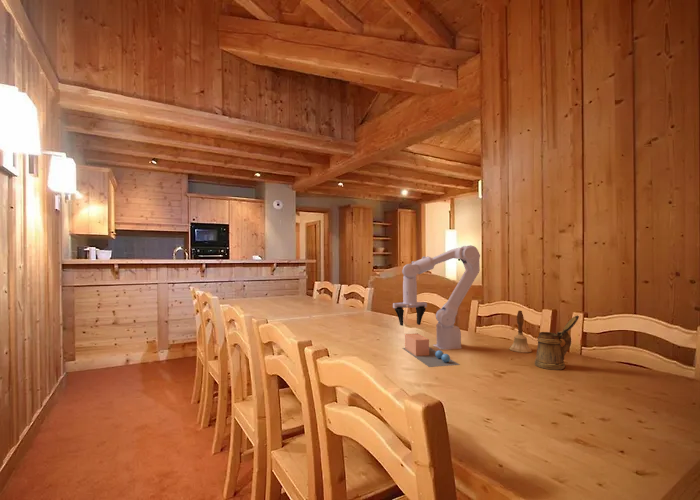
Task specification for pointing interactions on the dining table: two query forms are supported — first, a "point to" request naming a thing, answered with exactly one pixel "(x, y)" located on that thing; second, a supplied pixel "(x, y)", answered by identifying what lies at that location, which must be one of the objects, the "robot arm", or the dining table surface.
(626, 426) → the dining table surface
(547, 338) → the wooden mug
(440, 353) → the blue marble
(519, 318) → the hand bell
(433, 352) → the charcoal mat
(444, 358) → the blue marble
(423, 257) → the robot arm
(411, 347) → the terracotta cover
